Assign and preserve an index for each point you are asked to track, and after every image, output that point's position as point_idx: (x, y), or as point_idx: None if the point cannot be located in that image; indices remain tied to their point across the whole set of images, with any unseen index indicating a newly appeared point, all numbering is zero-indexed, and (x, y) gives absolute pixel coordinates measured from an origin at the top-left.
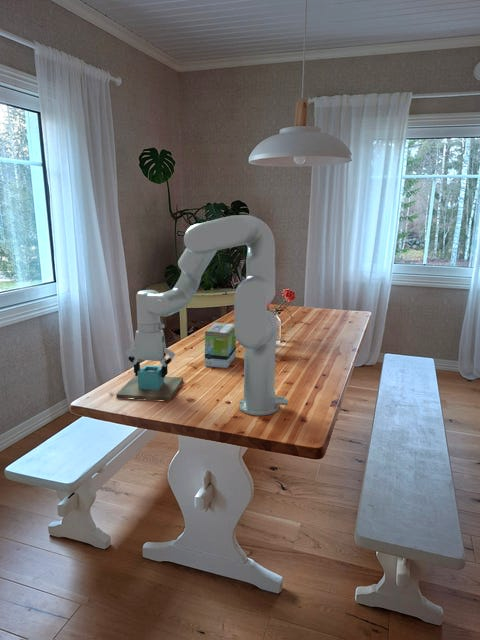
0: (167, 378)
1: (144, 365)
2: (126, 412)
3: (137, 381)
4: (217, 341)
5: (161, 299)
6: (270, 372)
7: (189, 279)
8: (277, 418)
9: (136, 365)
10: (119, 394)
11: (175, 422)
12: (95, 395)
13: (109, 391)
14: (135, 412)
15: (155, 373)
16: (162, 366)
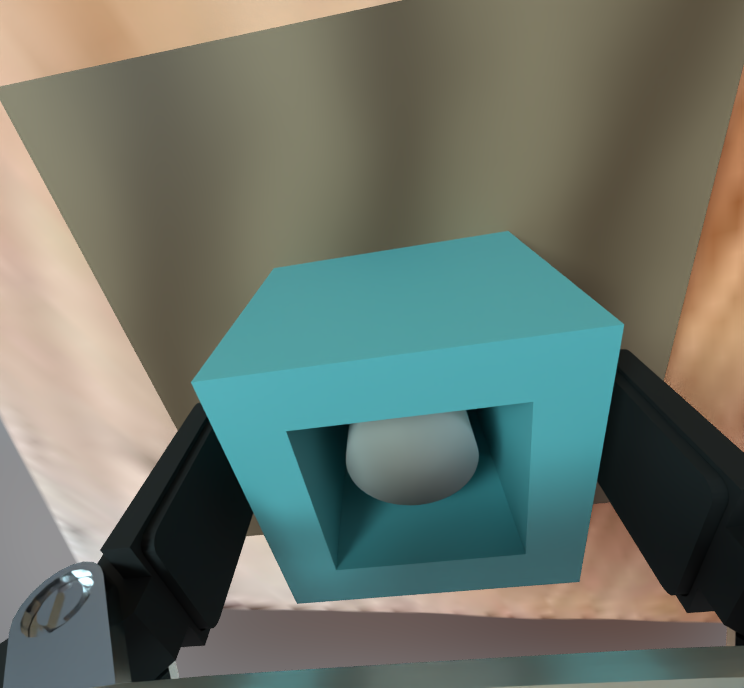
0: (517, 73)
1: (206, 392)
2: (403, 599)
3: (203, 297)
4: None
5: None
6: None
7: None
8: None
9: (201, 631)
10: (257, 534)
11: (675, 616)
12: (87, 505)
13: (108, 441)
14: (448, 592)
15: (545, 581)
16: (698, 602)
